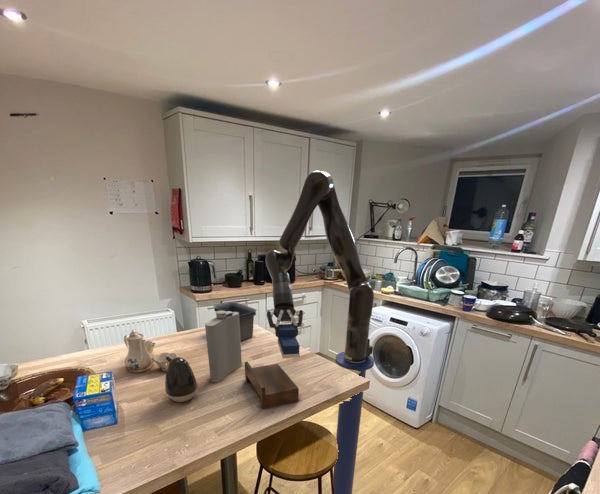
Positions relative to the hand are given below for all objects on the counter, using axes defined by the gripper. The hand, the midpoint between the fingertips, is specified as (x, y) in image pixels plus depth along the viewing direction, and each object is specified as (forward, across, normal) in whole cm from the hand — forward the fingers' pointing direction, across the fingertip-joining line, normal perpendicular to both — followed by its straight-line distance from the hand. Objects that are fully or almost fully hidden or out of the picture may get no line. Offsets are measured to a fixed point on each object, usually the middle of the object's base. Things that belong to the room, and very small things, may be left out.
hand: (287, 336), depth 123 cm
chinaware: (-1, -55, +25) cm, 60 cm away
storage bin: (-20, -19, +45) cm, 53 cm away
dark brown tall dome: (+19, -38, +5) cm, 42 cm away
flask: (+7, -23, +17) cm, 30 cm away
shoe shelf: (+19, -8, +5) cm, 21 cm away
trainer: (+5, 0, +1) cm, 5 cm away
